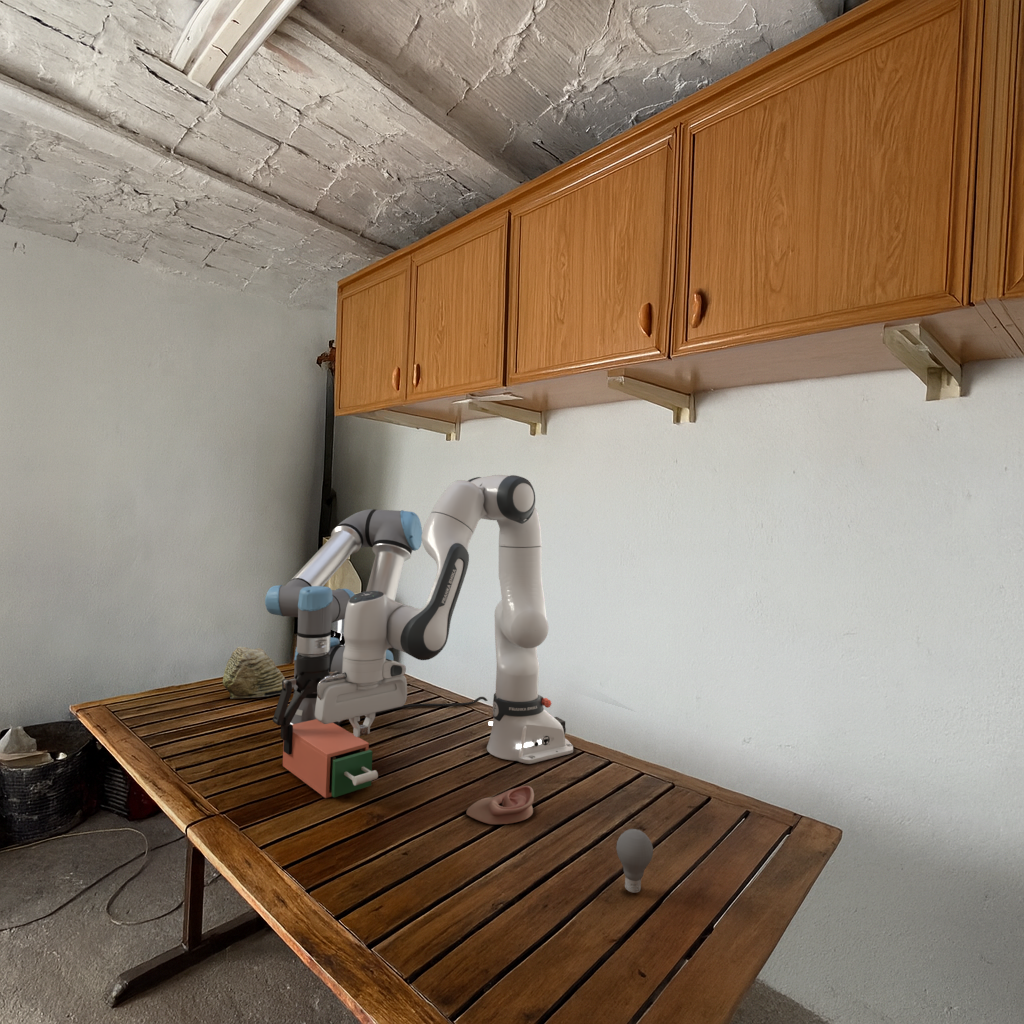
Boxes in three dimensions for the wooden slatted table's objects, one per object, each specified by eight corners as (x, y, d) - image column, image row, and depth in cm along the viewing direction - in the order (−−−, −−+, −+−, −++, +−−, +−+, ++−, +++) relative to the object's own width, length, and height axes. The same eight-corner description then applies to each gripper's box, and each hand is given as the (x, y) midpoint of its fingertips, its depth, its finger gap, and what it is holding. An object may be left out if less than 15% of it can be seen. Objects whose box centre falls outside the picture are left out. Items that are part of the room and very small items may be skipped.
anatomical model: (462, 800, 126) (477, 776, 137) (461, 820, 126) (476, 794, 137) (528, 810, 123) (537, 784, 135) (527, 830, 123) (536, 803, 135)
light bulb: (610, 879, 108) (613, 822, 108) (644, 879, 109) (647, 822, 109) (619, 902, 102) (622, 840, 102) (655, 901, 103) (658, 840, 103)
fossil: (218, 695, 195) (220, 647, 195) (278, 685, 208) (279, 640, 207) (228, 703, 189) (230, 653, 188) (289, 692, 201) (290, 645, 201)
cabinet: (367, 784, 140) (369, 743, 140) (325, 798, 133) (327, 754, 133) (322, 755, 155) (323, 717, 155) (282, 766, 148) (284, 726, 148)
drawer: (384, 794, 134) (386, 759, 134) (347, 807, 128) (348, 770, 128) (327, 756, 152) (328, 725, 152) (292, 766, 146) (293, 734, 145)
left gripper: (273, 663, 138) (269, 764, 138) (364, 649, 154) (360, 740, 154) (258, 656, 143) (255, 753, 144) (348, 643, 159) (344, 731, 160)
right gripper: (325, 681, 123) (323, 751, 123) (412, 665, 138) (409, 728, 138) (310, 674, 128) (307, 742, 128) (395, 659, 142) (393, 720, 142)
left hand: (309, 746), depth 149 cm, fingers closed on cabinet, 10 cm apart
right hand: (361, 734), depth 133 cm, fingers closed
